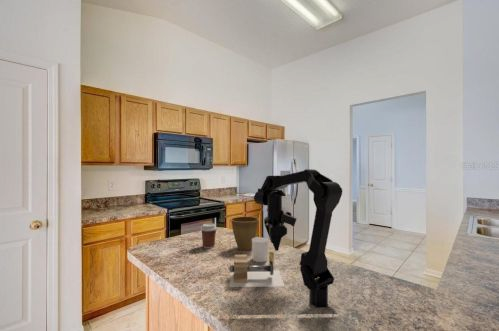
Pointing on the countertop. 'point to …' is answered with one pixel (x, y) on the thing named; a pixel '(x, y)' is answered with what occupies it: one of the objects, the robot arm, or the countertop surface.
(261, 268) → the hook rod
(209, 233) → the coffee cup
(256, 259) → the white cup
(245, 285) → the mounting board
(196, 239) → the countertop surface
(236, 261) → the block
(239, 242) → the plant pot
